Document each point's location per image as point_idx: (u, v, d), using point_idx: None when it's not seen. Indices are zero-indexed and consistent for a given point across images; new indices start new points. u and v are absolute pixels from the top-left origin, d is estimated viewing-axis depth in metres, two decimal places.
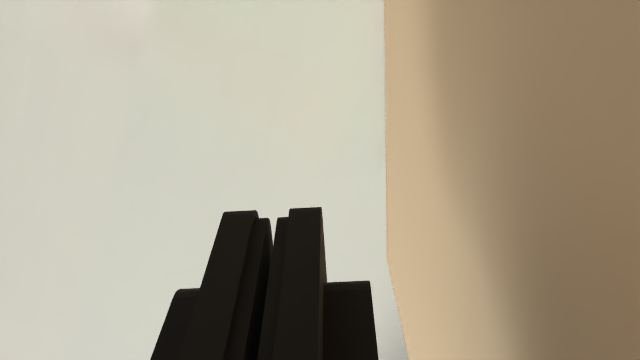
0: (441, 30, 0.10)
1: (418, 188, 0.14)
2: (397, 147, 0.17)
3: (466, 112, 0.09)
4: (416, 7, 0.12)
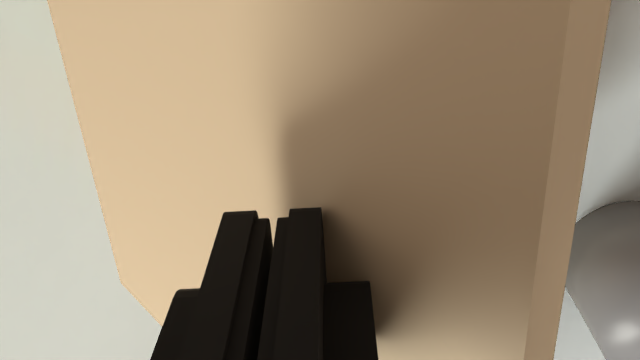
0: (176, 35, 0.12)
1: (169, 187, 0.15)
2: (118, 164, 0.17)
3: (234, 92, 0.11)
4: (125, 24, 0.13)
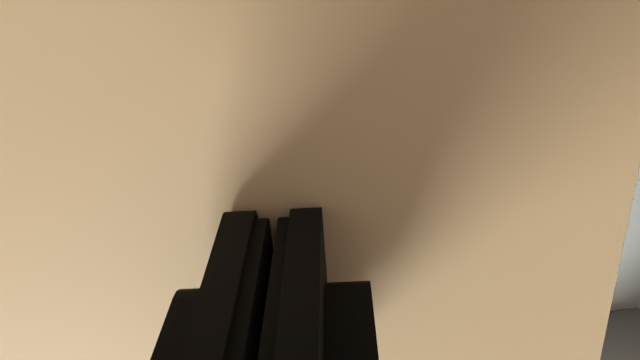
0: (107, 89, 0.09)
1: (62, 302, 0.11)
2: None
3: (237, 131, 0.09)
4: None
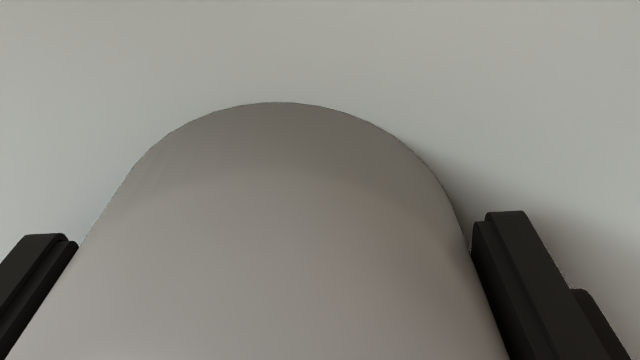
0: None
1: None
2: None
3: None
4: None
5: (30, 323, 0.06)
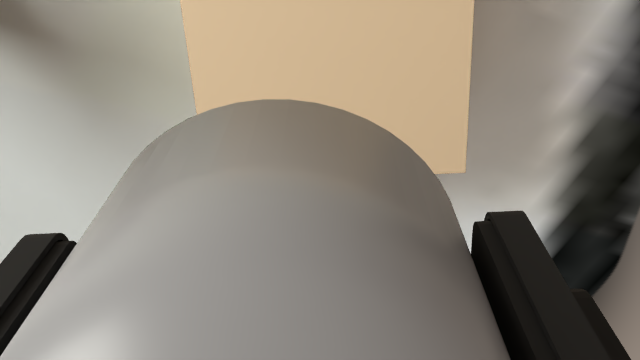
0: (412, 10, 0.26)
1: None
2: None
3: (395, 54, 0.27)
4: None
5: (25, 321, 0.06)
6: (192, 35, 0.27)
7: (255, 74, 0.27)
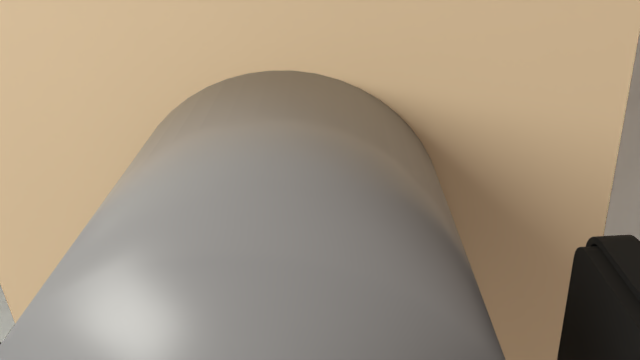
0: (473, 209, 0.12)
1: None
2: None
3: None
4: (475, 93, 0.11)
5: (82, 232, 0.08)
6: (5, 256, 0.13)
7: None
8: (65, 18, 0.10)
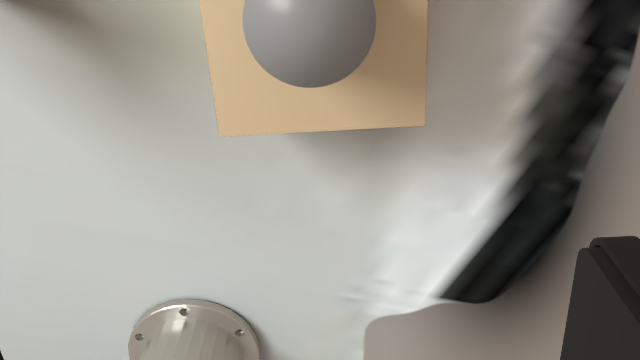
0: None
1: None
2: None
3: None
4: None
5: None
6: (207, 17, 0.34)
7: None
8: None
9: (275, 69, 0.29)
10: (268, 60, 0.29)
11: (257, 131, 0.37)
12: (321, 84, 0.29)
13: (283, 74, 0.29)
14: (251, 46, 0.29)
